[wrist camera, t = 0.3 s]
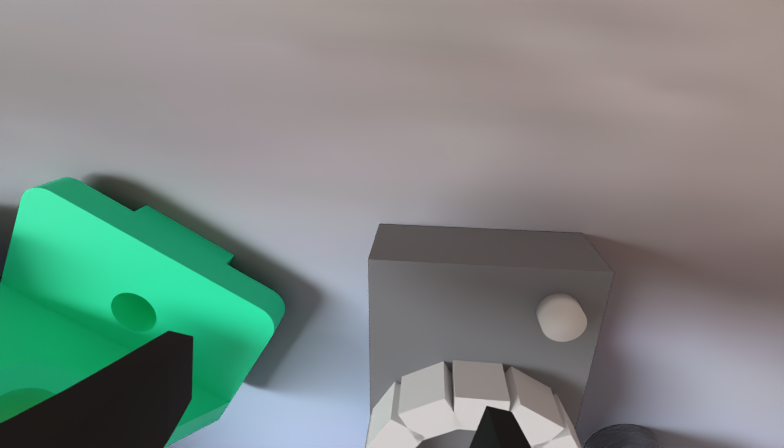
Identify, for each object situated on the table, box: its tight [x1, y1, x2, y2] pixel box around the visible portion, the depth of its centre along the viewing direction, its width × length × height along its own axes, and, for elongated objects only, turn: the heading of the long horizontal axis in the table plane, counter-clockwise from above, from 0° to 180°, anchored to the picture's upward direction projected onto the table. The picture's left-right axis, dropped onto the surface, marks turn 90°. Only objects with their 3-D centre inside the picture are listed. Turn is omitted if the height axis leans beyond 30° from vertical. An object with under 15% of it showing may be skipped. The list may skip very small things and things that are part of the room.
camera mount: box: [0, 177, 285, 447], centre depth 17 cm, size 12×8×10 cm, turn 58°
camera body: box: [365, 224, 614, 448], centre depth 19 cm, size 14×9×6 cm, turn 179°
